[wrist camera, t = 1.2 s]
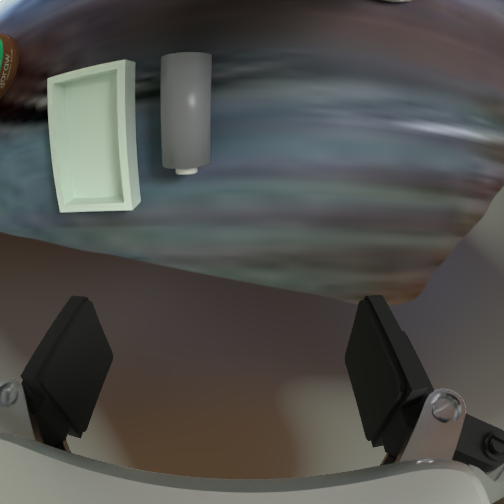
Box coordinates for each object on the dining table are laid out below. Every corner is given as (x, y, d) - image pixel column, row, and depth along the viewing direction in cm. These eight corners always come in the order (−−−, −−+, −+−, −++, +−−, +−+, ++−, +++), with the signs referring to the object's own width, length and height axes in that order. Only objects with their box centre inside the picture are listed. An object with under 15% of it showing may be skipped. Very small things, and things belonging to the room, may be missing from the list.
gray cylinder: (168, 61, 23) (154, 55, 19) (214, 58, 23) (208, 50, 19) (169, 167, 28) (156, 178, 24) (213, 166, 28) (207, 177, 24)
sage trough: (60, 78, 22) (47, 78, 20) (135, 62, 23) (125, 59, 20) (71, 204, 29) (60, 212, 27) (140, 201, 30) (132, 210, 27)
